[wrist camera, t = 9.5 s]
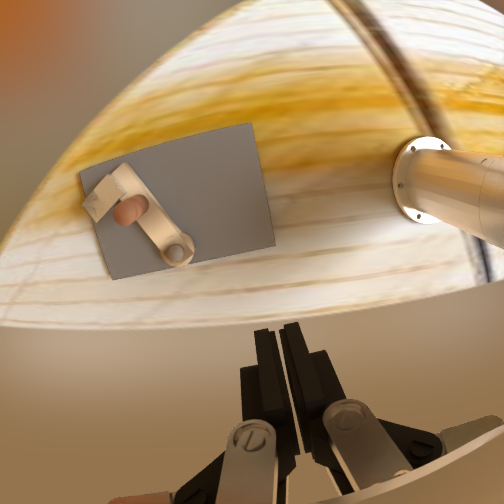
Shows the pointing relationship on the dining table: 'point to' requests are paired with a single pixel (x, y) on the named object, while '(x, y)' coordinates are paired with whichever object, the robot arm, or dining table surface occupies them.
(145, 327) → the dining table surface
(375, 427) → the robot arm
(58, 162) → the dining table surface
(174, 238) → the ash link
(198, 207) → the base board
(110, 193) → the block
